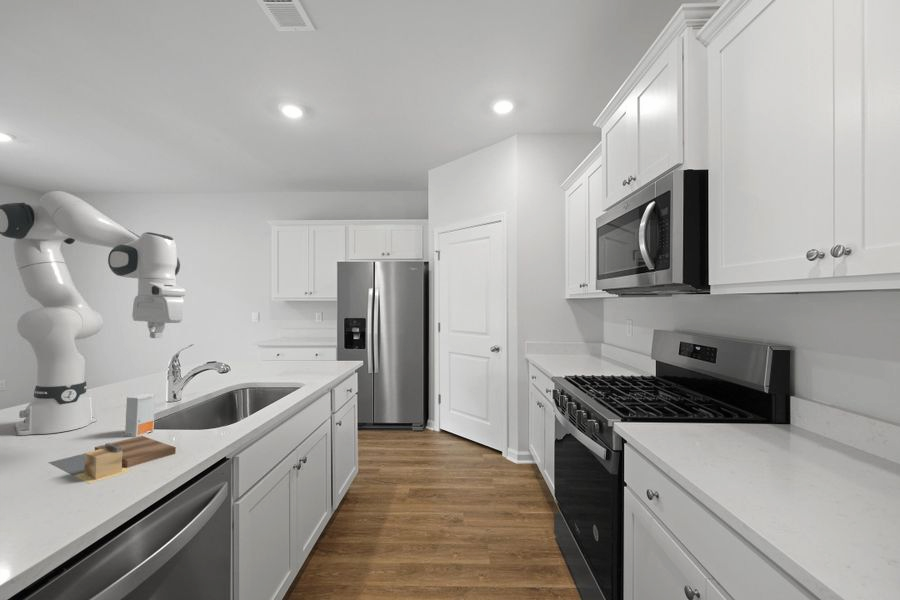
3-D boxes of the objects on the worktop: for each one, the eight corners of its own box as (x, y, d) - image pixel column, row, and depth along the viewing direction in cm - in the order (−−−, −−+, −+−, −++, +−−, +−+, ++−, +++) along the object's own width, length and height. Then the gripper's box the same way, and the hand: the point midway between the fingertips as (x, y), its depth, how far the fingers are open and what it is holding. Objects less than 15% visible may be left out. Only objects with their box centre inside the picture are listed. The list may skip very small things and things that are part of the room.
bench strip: (48, 463, 101) (48, 462, 101) (88, 453, 108) (88, 452, 108) (89, 484, 90) (89, 483, 90) (131, 472, 97) (131, 470, 97)
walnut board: (94, 454, 107) (94, 447, 107) (141, 442, 117) (141, 435, 117) (127, 468, 99) (127, 460, 99) (175, 454, 108) (175, 447, 108)
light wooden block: (84, 474, 94) (85, 448, 95) (109, 466, 99) (110, 442, 99) (95, 479, 92) (96, 453, 92) (121, 471, 96) (122, 446, 96)
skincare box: (136, 437, 121) (137, 398, 121) (124, 436, 122) (125, 397, 122) (154, 431, 127) (155, 394, 127) (143, 430, 128) (144, 393, 128)
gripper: (126, 289, 116) (124, 336, 116) (164, 289, 106) (162, 340, 106) (150, 290, 122) (149, 335, 121) (189, 290, 112) (187, 339, 112)
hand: (155, 338), depth 114 cm, fingers closed
